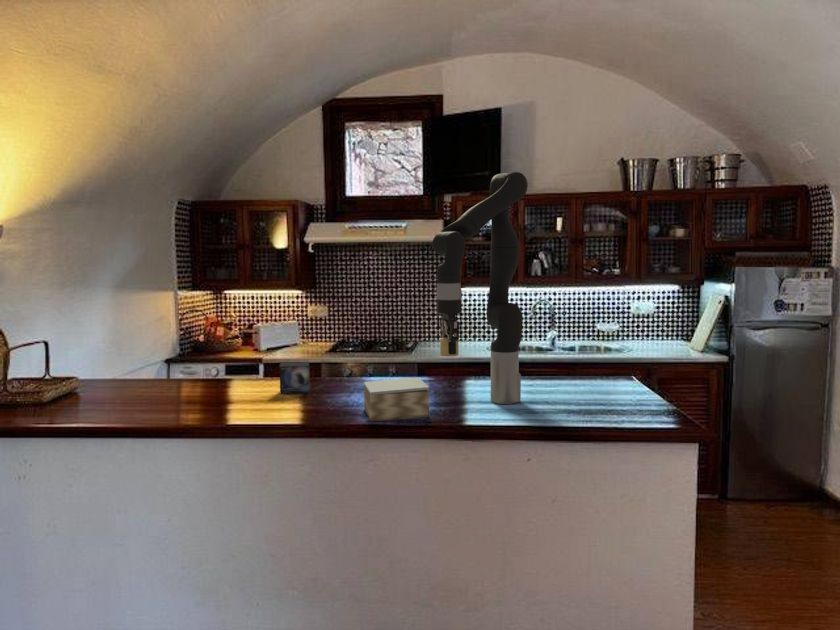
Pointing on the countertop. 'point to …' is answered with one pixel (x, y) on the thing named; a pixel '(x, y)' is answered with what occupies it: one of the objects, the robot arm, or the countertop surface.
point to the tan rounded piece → (444, 347)
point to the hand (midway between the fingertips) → (449, 352)
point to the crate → (396, 405)
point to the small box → (294, 378)
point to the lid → (395, 386)
